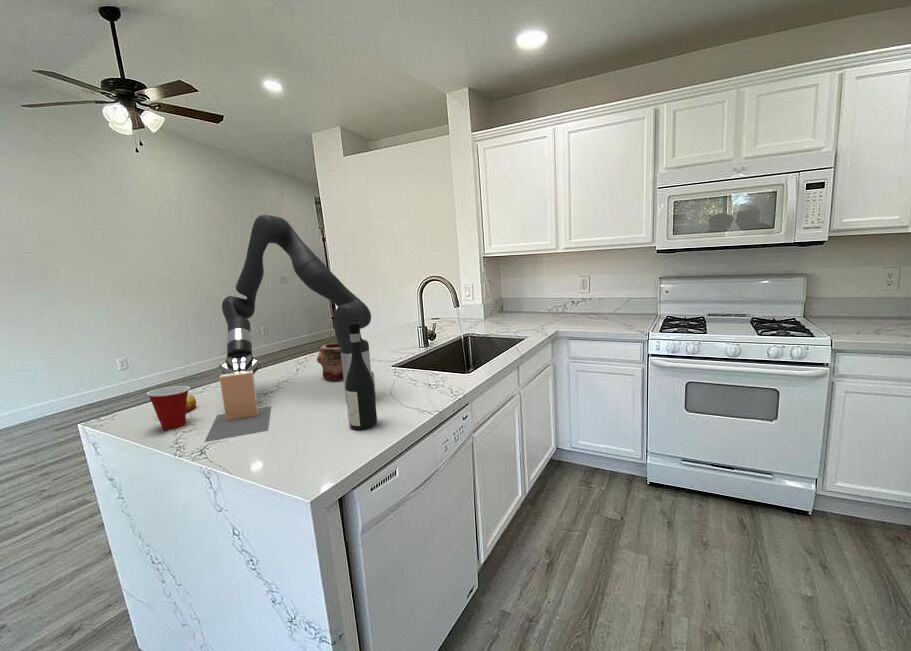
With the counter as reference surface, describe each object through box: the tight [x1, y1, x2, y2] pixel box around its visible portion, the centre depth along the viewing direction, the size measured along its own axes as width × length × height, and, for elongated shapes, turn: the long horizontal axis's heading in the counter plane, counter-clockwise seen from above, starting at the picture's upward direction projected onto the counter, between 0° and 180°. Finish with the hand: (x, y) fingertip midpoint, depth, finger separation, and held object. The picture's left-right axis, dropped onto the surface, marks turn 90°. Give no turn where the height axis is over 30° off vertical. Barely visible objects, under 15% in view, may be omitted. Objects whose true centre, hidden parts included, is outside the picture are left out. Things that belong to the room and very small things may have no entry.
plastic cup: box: [146, 385, 191, 432], centre depth 128 cm, size 11×11×12 cm
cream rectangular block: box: [219, 370, 259, 421], centre depth 132 cm, size 3×9×14 cm, turn 111°
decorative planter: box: [316, 342, 344, 383], centre depth 170 cm, size 20×12×14 cm, turn 71°
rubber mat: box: [204, 405, 272, 443], centre depth 128 cm, size 22×16×1 cm
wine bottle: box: [344, 322, 378, 431], centre depth 120 cm, size 8×8×30 cm
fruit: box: [186, 392, 197, 414], centre depth 141 cm, size 11×10×8 cm
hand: (240, 389), depth 135 cm, fingers closed
